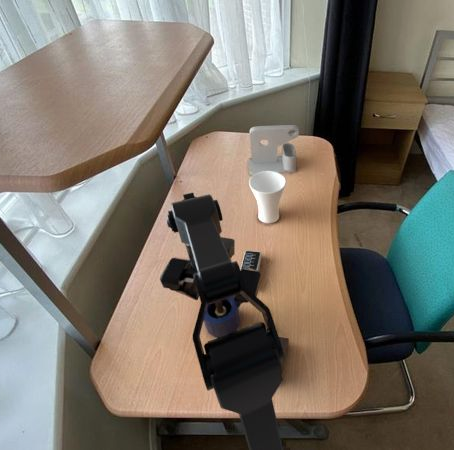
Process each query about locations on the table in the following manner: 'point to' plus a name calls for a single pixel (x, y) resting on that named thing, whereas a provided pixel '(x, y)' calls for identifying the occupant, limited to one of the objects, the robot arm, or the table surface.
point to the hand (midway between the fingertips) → (218, 301)
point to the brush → (220, 310)
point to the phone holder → (272, 149)
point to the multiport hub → (251, 260)
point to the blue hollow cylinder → (222, 324)
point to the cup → (268, 194)
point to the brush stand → (284, 351)
